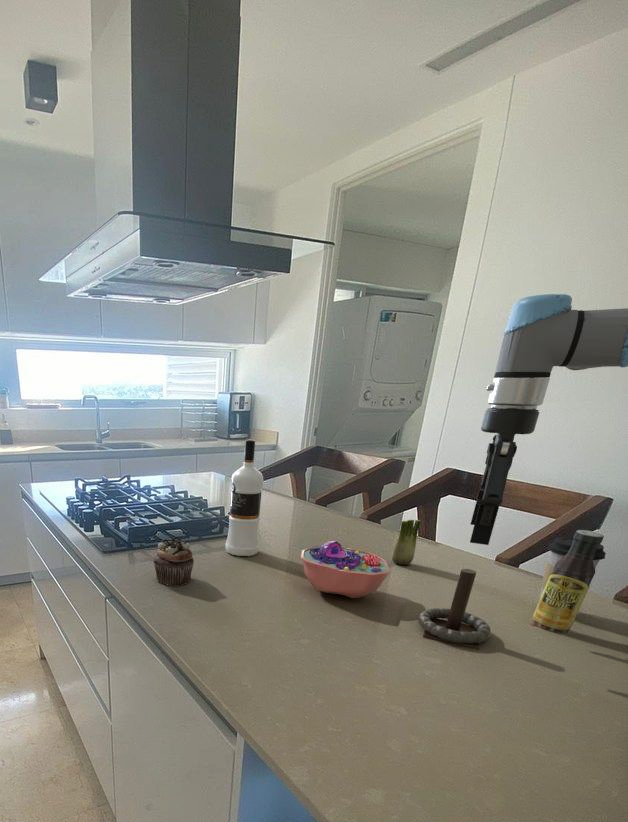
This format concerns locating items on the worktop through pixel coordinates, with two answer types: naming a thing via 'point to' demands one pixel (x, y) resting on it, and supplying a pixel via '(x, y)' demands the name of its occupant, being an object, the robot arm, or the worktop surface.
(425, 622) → the ring
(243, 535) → the vodka
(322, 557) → the cell model
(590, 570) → the sauce bottle
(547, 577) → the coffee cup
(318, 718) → the worktop surface
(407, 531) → the fennel bulb
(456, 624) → the post stand
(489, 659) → the worktop surface
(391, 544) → the worktop surface
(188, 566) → the cupcake
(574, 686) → the worktop surface
